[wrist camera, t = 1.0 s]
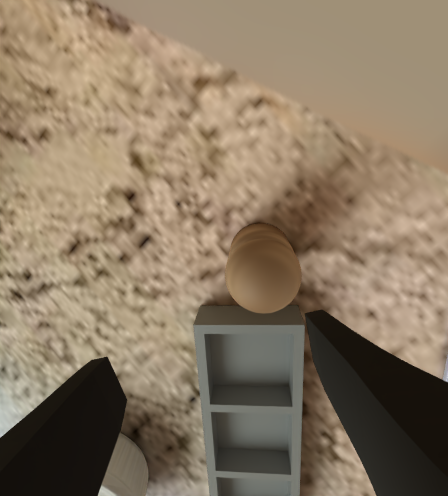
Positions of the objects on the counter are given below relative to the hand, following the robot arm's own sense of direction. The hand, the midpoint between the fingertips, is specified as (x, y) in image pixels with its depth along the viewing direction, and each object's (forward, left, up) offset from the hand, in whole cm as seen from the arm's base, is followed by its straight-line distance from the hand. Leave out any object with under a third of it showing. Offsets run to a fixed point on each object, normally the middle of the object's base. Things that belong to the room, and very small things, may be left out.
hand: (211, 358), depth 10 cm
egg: (-2, 0, -12) cm, 12 cm away
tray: (-1, +15, -12) cm, 19 cm away
